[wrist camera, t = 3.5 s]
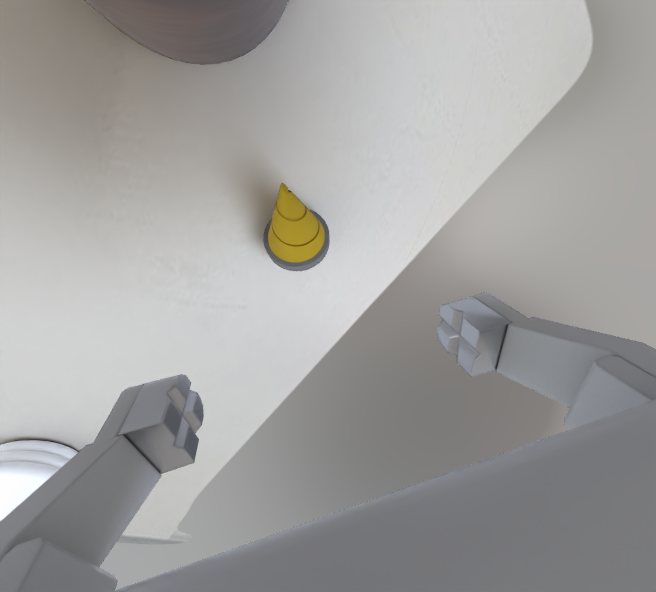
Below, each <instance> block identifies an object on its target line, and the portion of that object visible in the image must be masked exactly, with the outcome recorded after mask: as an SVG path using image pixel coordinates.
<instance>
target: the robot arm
mask: <svg viewBox="0 0 656 592" xmlns="http://www.w3.org/2000/svg"><path fill="white" fill-rule="evenodd" d="M439 316H440V317H441V318H442V319H443V320H442V321H441V323H440V324H439V325H438V337H439V341H440V343H441V344H442V346H443V348H444V349H445V350H446V351H447V352H448V353H450V354H452V355H455V356H457V363H458V364H459V365H460V366H461V367H462V368H463V369H464V371H465V372H467V374H468V375H469V376H470V377H474V376H477V375H481V374H484V373H488V372H491V371H495V370H496V372H498V373H500V374H502V375H504V376H506V377H508V378H510V379H512V380H514V381H516V382H518V383H520V384H522V385H524V386H526V387H528V388H530V389H532V390H534V391H536V392H538V393H541V394H543V395H545V396H547V397H549V398H551V399H553V400H555V401H557V402H559V403H561V404H563V405H565V406H567V407H569V408H570V409H569V411H568V413H567V414H566V416H565V418H564V425H565V426H566V427H567V428H569V430H568V431H565V432H562V433H559V434H556V435H553V436H551V437H548V438H545V439H542V440H540V441H536V442H534V443H531V444H528V445H525V446H522V447H520V448H516V449H514V450H511V451H508V452H506V453H502V454H499V455H497V456H494V457H491V458H488V459H486V460H483V461H480V462H477V463H474V464H472V465H468V466H466V467H463V468H460V469H457V470H454V471H451V472H449V473H446V474H443V475H440V476H437V477H434V478H432V479H429V480H426V481H423V482H420V483H417V484H415V485H412V486H409V487H406V488H403V489H401V490H398V491H395V492H392V493H389V494H387V495H383V496H381V497H378V498H375V499H372V500H369V501H366V502H364V503H361V504H358V505H355V506H353V507H350V508H347V509H344V510H341V511H338V512H335V513H333V514H330V515H327V516H324V517H322V518H318V519H316V520H313V521H310V522H307V523H304V524H301V525H299V526H296V527H293V528H290V529H287V530H285V531H282V532H279V533H276V534H273V535H270V536H268V537H265V538H262V539H259V540H256V541H254V542H251V543H248V544H245V545H242V546H239V547H237V548H234V549H231V550H228V551H226V552H222V553H220V554H217V555H214V556H211V557H208V558H205V559H203V560H200V561H197V562H194V563H191V564H189V565H186V566H183V567H180V568H177V569H175V570H171V571H169V572H166V573H163V574H160V575H157V576H155V577H152V578H149V579H146V580H143V581H141V582H138V583H135V584H132V585H129V586H126V587H123V588H121V589H118V590H115V588H116V585H117V579H116V577H115V576H114V575H113V574H110V573H109V572H107V571H105V570H103V569H101V568H99V567H100V565H101V564H102V562H103V561H104V559H105V558H106V557H107V555H108V554H109V552H110V550H111V549H112V548H113V546H114V545H115V543H116V542H117V540H118V539H119V537H120V536H121V535H122V533H123V532H124V530H125V529H126V527H127V526H128V524H129V523H130V521H131V520H132V518H133V517H134V515H135V514H136V513H137V511H138V510H139V508H140V507H141V505H142V504H143V502H144V501H145V499H146V498H147V496H148V495H149V493H150V492H151V491H152V489H153V488H154V486H155V485H156V483H157V482H158V480H159V479H160V477H161V474H162V473H165V472H168V471H171V470H174V469H177V468H180V467H183V466H186V465H189V464H192V463H194V460H195V456H196V451H197V446H198V441H199V439H198V437H197V436H196V434H195V433H196V432H197V430H198V429H199V428H200V427H201V425H202V421H203V416H204V415H203V404H202V401H201V398H200V397H199V395H198V393H196V392H194V391H191V390H189V389H190V385H191V382H190V380H189V379H188V378H187V376H186V375H182V374H181V375H177V376H173V377H169V378H165V379H161V380H157V381H153V382H149V383H146V384H142V385H138V386H134V387H130V388H127V389H126V390H124V391H123V392H122V393H121V395H120V397H119V398H118V400H117V402H116V404H115V405H114V407H113V409H112V411H111V412H110V414H109V416H108V418H107V420H106V421H105V423H104V425H103V427H102V428H101V430H100V432H99V434H98V435H97V437H96V439H95V441H94V443H92V444H89V445H86V446H85V447H84V448H83V449H82V450H80V451H79V452H78V453H77V454H76V455H75V456H74V457H73V458H71V459H70V460H69V461H68V462H67V463H66V464H65V465H63V466H62V467H61V468H60V469H59V470H58V471H57V472H56V473H54V474H53V475H52V476H51V477H50V478H49V479H48V480H47V481H45V482H44V483H43V484H42V485H41V486H40V487H39V488H38V489H36V490H35V491H34V492H33V493H32V494H31V495H30V496H28V497H27V498H26V499H25V500H24V501H23V502H22V503H21V504H19V505H18V506H17V507H16V508H15V509H14V510H13V511H12V512H10V513H9V514H8V515H7V516H6V517H5V518H4V519H3V520H1V521H0V592H656V349H654V348H652V347H650V346H648V345H646V344H644V343H641V342H637V341H633V340H629V339H625V338H620V337H616V336H612V335H608V334H603V333H599V332H595V331H591V330H586V329H582V328H578V327H573V326H569V325H565V324H561V323H557V322H552V321H548V320H544V319H540V318H535V317H531V318H527V317H526V316H524V315H523V314H521V313H520V312H518V311H516V310H515V309H513V308H512V307H510V306H508V305H506V304H505V303H504V302H502V301H500V300H498V299H497V298H495V297H494V296H492V295H491V294H488V293H481V294H478V295H474V296H471V297H469V298H465V299H461V300H458V301H454V302H451V303H447V304H443V305H442V306H441V307H440V310H439Z"/></svg>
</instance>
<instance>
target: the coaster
mask: <svg viewBox="0 0 656 592" xmlns="http://www.w3.org/2000/svg"><path fill="white" fill-rule="evenodd" d="M77 453H78V452H77V451H76V450H74V449H72V448H70V447H68V446H65V445H62V444H58V443H54V442H49V441H40V440H23V441H15V442H9V443H5V444H1V445H0V521H1V520H3V519H4V518H5V517H6V516H7V515H8V514H9V513H10V512H12V511H13V510H14V509H15V508H16V507H17V506H18V505H19V504H21V503H22V502H23V501H24V500H25V499H26V498H27V497H28V496H30V495H31V494H32V493H33V492H34V491H35V490H36V489H38V488H39V487H40V486H41V485H42V484H43V483H44V482H45V481H47V480H48V479H49V478H50V477H51V476H52V475H53V474H54V473H56V472H57V471H58V470H59V469H60V468H61V467H62V466H63V465H65V464H66V463H67V462H68V461H69V460H70V459H71V458H73V457H74V456H75V455H76V454H77Z"/></svg>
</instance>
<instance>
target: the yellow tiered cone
mask: <svg viewBox="0 0 656 592" xmlns="http://www.w3.org/2000/svg"><path fill="white" fill-rule="evenodd" d="M264 245H265V248H266V250H267V253H268V254H269V256H270V258H271V259H272V260H273V262H274V263H276V264H277V265H278V266H280V267H281V268H283V269H286V270H290V271H303V270H307V269H310V268H312V267H314V266H316V265H317V264H318V263H320V262H321V261H322V260H323V258H324V257H325V255H326V254H327V251H328V248H329V230H328V226H327V224H326V222H325V221H324V220H323V218H322V217H321V216H320V215H318V214H317V213H316V212H314V211H312V210H309V209H308V208H307V207H306V206H305V205H304V204H303V203H302V202H301V201H300V200H299V199H298V198H297V197H296V196H295V195H294V194H293V193H292V192H291V191H290V190H288V187H287V186H286V185H285V184H284V183H282V184H281V186H280V190H279V194H278V198H277V202H276V206H275V210H274V213H273V217H272V219H271V220H270V221H269V223H268V224H267V226H266V228H265V232H264Z"/></svg>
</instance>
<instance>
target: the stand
mask: <svg viewBox="0 0 656 592" xmlns="http://www.w3.org/2000/svg"><path fill="white" fill-rule="evenodd" d="M85 1H86V2H87V3H88V4H89V5H90V6H92V7H93V8H94V9H95V10H96V11H98V12H99V13H100V14H101V15H102V16H104V17H105V18H106V19H107V20H108V21H110V22H111V23H112V24H113V25H114V26H116V27H117V28H118V29H119V30H120V31H122V32H123V33H125V34H126V35H128V36H129V37H130V38H132V39H133V40H135V41H136V42H138V43H139V44H141V45H143V46H145V47H147V48H149V49H150V50H152V51H154V52H156V53H159V54H161V55H164V56H166V57H169V58H171V59H175V60H179V61H183V62H186V63H194V64H218V63H222V62H227V61H231V60H233V59H236V58H238V57H240V56H243V55H245V54H246V53H248V52H249V51H251V50H252V49H254V48H255V47H257V46H258V45H259V44H260V43H261V42H262V41H263V40H264V39H265V38H266V37H267V36H268V35H269V33H270V32H271V31H272V30H273V28H274V27H275V26H276V24H277V22H278V21H279V19H280V17H281V16H282V14H283V12H284V10H285V8H286V5H287V3H288V1H289V0H85Z"/></svg>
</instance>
